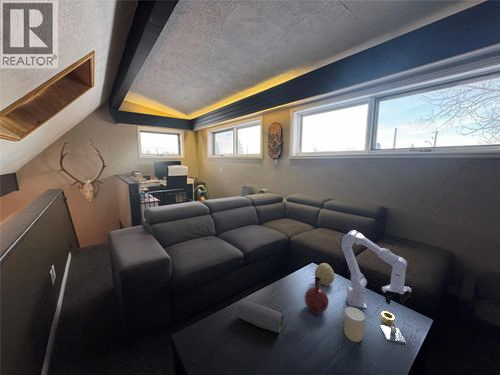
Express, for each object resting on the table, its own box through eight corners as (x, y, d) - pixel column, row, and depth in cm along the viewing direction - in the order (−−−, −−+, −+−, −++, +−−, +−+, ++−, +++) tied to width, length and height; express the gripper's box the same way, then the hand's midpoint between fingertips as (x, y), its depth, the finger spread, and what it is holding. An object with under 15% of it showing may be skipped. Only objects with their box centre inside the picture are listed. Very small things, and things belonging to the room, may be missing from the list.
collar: (383, 324, 105) (384, 318, 104) (379, 316, 110) (380, 310, 109) (395, 326, 103) (396, 320, 103) (390, 318, 108) (391, 312, 108)
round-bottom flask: (302, 315, 110) (304, 282, 107) (305, 299, 123) (306, 270, 120) (327, 322, 106) (329, 288, 103) (327, 305, 118) (330, 274, 115)
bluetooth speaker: (283, 325, 104) (283, 308, 102) (278, 340, 95) (278, 321, 94) (244, 311, 113) (244, 295, 112) (237, 323, 105) (236, 306, 103)
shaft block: (386, 340, 95) (387, 332, 95) (380, 326, 103) (381, 319, 102) (405, 344, 93) (406, 335, 93) (397, 330, 101) (398, 322, 100)
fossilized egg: (331, 292, 129) (333, 271, 127) (312, 285, 136) (313, 265, 134) (335, 282, 140) (336, 262, 138) (317, 276, 147) (318, 257, 144)
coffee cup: (361, 329, 101) (363, 308, 99) (365, 346, 92) (367, 323, 91) (341, 324, 104) (343, 304, 102) (343, 340, 95) (345, 318, 94)
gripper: (389, 285, 100) (386, 309, 102) (417, 285, 101) (414, 308, 103) (380, 276, 107) (377, 299, 109) (406, 276, 108) (403, 299, 110)
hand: (394, 303), depth 107 cm, fingers open, 7 cm apart
